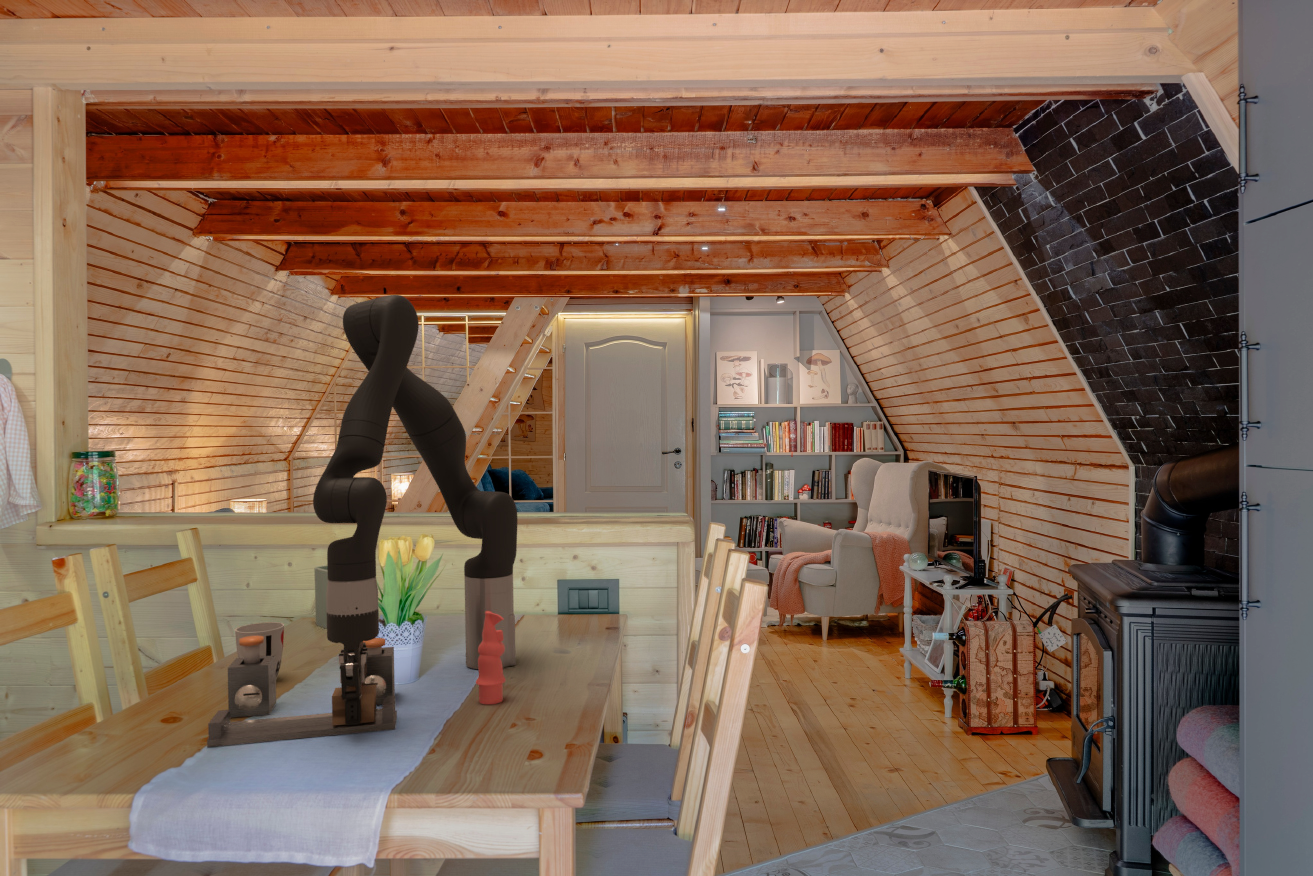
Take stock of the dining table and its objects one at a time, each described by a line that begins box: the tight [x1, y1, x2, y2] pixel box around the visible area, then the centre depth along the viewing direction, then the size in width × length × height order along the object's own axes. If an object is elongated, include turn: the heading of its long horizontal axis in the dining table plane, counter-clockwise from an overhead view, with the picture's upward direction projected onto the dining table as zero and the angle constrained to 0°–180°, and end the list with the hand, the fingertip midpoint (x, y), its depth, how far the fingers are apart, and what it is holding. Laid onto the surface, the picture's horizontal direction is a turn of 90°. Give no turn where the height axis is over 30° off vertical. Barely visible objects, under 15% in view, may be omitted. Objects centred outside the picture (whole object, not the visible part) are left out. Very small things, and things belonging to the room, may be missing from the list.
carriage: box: [331, 685, 377, 725], centre depth 133 cm, size 6×4×4 cm
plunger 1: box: [239, 636, 264, 664], centre depth 142 cm, size 4×4×4 cm
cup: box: [234, 621, 285, 681], centre depth 158 cm, size 8×8×10 cm
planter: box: [314, 564, 328, 630], centre depth 204 cm, size 16×8×20 cm, turn 1°
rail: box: [206, 694, 398, 748], centre depth 131 cm, size 26×6×3 cm, turn 104°
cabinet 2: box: [365, 646, 396, 706], centre depth 146 cm, size 6×6×8 cm
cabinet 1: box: [227, 655, 277, 719], centre depth 141 cm, size 6×6×8 cm
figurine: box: [475, 611, 506, 705], centre depth 145 cm, size 5×5×15 cm
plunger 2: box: [363, 637, 386, 655], centre depth 146 cm, size 4×4×4 cm
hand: (354, 718), depth 133 cm, fingers closed on carriage, 4 cm apart
